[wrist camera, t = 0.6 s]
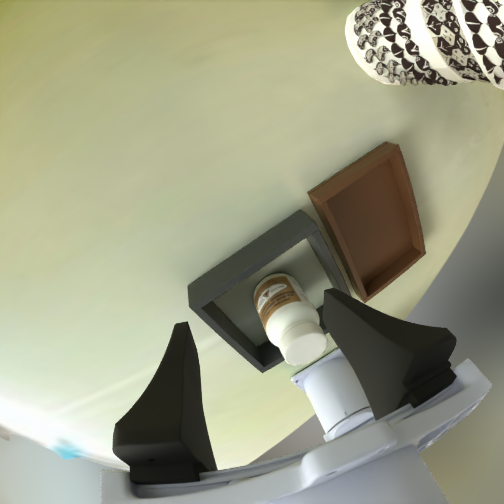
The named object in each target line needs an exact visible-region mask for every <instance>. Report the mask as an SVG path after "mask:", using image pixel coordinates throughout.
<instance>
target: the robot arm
mask: <svg viewBox="0 0 504 504" xmlns="http://www.w3.org/2000/svg"><path fill="white" fill-rule="evenodd" d="M323 321H324V323H325V325H326V328H327V329H328V331H329V333H330V335H331V337H332V338H333V340H334V341H335V343H336V344H337V346H338V347H339V348H338V349H336V350H335V351H333V352H331V353H330V354H328V355H327V356H325V357H324V358H322V359H321V360H319V361H318V362H316V363H314V364H313V365H311V366H309V367H308V368H306V369H305V370H303V371H301V372H300V373H298V374H296V375H294V376H293V377H292V378H291V380H292V382H293V383H294V384H295V385H297V386H298V387H299V388H300V389H301V390H302V391H303V392H304V393H306V394H307V395H308V398H309V400H310V402H311V404H312V406H313V408H314V410H315V412H316V414H317V416H318V419H319V421H320V422H321V425H322V427H323V429H324V431H325V433H326V434H325V435H324V436H323V437H324V439H325V441H326V442H324V443H323V444H320V445H317V446H314V447H311V448H308V449H306V450H302V451H299V452H296V453H292V454H289V455H286V456H282V457H279V458H275V459H271V460H267V461H263V462H260V463H255V464H250V465H245V466H240V467H235V468H230V469H224V470H217V466H216V463H215V459H214V455H213V451H212V448H211V444H210V439H209V435H208V431H207V426H206V421H205V416H204V411H203V404H202V392H201V377H200V365H199V359H198V353H197V348H196V345H195V342H194V339H193V336H192V333H191V330H190V327H189V324H188V321H187V322H182V323H176V324H175V325H174V329H173V332H172V335H171V338H170V341H169V344H168V347H167V349H166V352H165V354H164V357H163V359H162V361H161V363H160V365H159V367H158V369H157V371H156V373H155V375H154V377H153V378H152V380H151V382H150V384H149V385H148V387H147V388H146V390H145V391H144V393H143V394H142V395H141V397H140V398H139V399H138V400H137V402H136V403H135V404H134V405H133V407H132V408H131V409H130V410H129V411H128V412H127V413H126V414H125V415H124V416H123V417H122V418H121V419H120V420H119V421H118V422H117V423H116V424H115V429H114V434H113V453H114V454H115V455H116V456H117V457H118V458H119V459H121V460H122V461H123V462H125V463H126V464H127V465H129V466H130V472H127V471H120V470H101V504H450V503H449V502H448V500H447V498H446V497H445V495H444V493H443V492H442V490H441V488H440V487H439V485H438V484H437V482H436V480H435V479H434V477H433V475H432V474H431V473H430V471H429V469H428V467H427V466H426V464H425V463H424V461H423V459H422V458H421V456H420V455H419V453H420V452H422V451H423V450H424V449H426V448H427V447H429V446H430V445H431V444H433V443H434V442H435V441H437V440H438V439H439V438H440V437H442V436H443V435H444V434H446V433H447V432H448V431H449V430H451V429H452V428H453V427H454V426H455V425H457V424H458V423H459V422H460V421H461V420H463V419H464V417H466V416H467V415H468V414H469V413H471V412H472V411H473V410H474V409H475V407H476V406H477V405H478V404H479V403H480V401H481V400H482V399H483V398H484V397H485V395H486V394H487V393H488V391H489V390H490V389H491V387H492V384H491V383H490V382H489V380H488V379H487V378H486V377H485V376H484V375H483V374H482V373H481V371H480V370H479V369H478V368H477V367H476V366H475V365H474V364H473V363H472V362H471V361H470V360H469V359H466V360H465V361H464V362H462V363H461V364H459V365H458V366H457V367H456V368H455V369H454V370H453V371H452V370H451V369H450V366H451V363H450V362H449V361H448V359H449V358H450V356H451V354H452V352H453V350H454V348H455V345H456V337H455V336H454V335H453V334H452V333H451V332H450V331H449V330H448V329H447V328H441V327H430V326H425V325H419V324H415V323H411V322H407V321H404V320H400V319H397V318H394V317H392V316H389V315H387V314H384V313H382V312H380V311H378V310H375V309H373V308H371V307H369V306H367V305H365V304H363V303H362V302H360V301H358V300H356V299H354V298H353V297H351V296H349V295H347V294H346V293H344V292H342V291H340V290H338V289H336V288H331V289H327V290H324V306H323Z"/></svg>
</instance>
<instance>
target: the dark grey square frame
mask: <svg viewBox="0 0 504 504" xmlns="http://www.w3.org/2000/svg"><path fill="white" fill-rule="evenodd" d="M305 238H307V239H308V241H309V243H310V245H311V247H312V248H313V250H314V252H315V254H316V256H317V258H318V259H319V261H320V263H321V265H322V267H323V269H324V271H325V272H326V274H327V276H328V278H329V280H330V282H331V284H332V286H333V288H336V289H338V290H340V291H342V292H344V293H346V294H347V295H349V296H351V294H350V292H349V289H348V287H347V285H346V283H345V281H344V279H343V277H342V274H341V272H340V270H339V268H338V266H337V264H336V262H335V260H334V258H333V256H332V254H331V252H330V250H329V248H328V246H327V244H326V242H325V240H324V238H323V236H322V234H321V232H320V230H319V228H318V226H317V224H316V222H315V221H314V220H312V219H311V218H310V217H309V216H307V215H306V214H305V213H304V212H302V211H301V210H299V211H297V212H296V213H294V214H293V215H291V216H290V217H288V218H287V219H285V220H284V221H282V222H281V223H279V224H278V225H276V226H275V227H273V228H272V229H270V230H269V231H267V232H266V233H265V234H263V235H262V236H260V237H259V238H257V239H256V240H254V241H253V242H251V243H250V244H248V245H247V246H245V247H244V248H242V249H241V250H239V251H238V252H237V253H235V254H234V255H232V256H231V257H229V258H228V259H226V260H225V261H223V262H222V263H220V264H219V265H217V266H216V267H215V268H213V269H212V270H210V271H209V272H207V273H206V274H204V275H203V276H201V277H200V278H198V279H197V280H196V281H194V282H193V283H191V284H190V285H188V299H189V307H190V308H191V309H192V310H193V311H194V312H195V313H196V314H197V315H198V316H199V317H200V318H201V319H202V320H203V321H204V322H205V323H206V324H208V325H209V326H210V327H211V328H212V329H213V330H214V331H215V332H216V333H217V334H218V335H219V336H220V337H222V338H223V339H224V340H225V341H226V342H227V343H228V344H229V345H230V346H231V347H233V348H234V349H235V350H236V351H237V352H238V353H239V354H241V355H242V356H243V357H244V358H245V359H246V360H247V361H249V362H250V363H251V364H252V365H253V366H254V367H256V368H257V369H258V370H259V371H260V372H262V373H264V372H265V371H267V370H269V369H271V368H272V367H274V366H276V365H277V364H279V363H281V362H283V361H284V360H285V359H284V357H283V355H282V353H281V351H280V348H279V347H277V346H275V345H274V344H273V343H272V342H271V341H270V340H269V341H267V342H265V343H264V344H262V345H260V346H259V347H257V346H256V345H255V344H254V343H253V342H252V341H251V340H250V339H248V338H247V337H246V336H245V335H244V334H243V333H242V332H241V331H240V330H239V329H238V328H237V327H236V326H235V325H234V324H233V323H232V322H231V320H230V319H229V318H228V317H227V316H226V315H225V314H224V313H223V312H222V311H221V310H220V309H219V308H218V307H217V306H216V305H215V304H214V303H213V302H212V300H214V299H215V298H217V297H218V296H220V295H221V294H223V293H224V292H226V291H227V290H229V289H230V288H232V287H233V286H235V285H236V284H238V283H240V282H241V281H243V280H244V279H246V278H247V277H249V276H250V275H252V274H253V273H255V272H256V271H257V270H259V269H260V268H262V267H263V266H265V265H266V264H268V263H269V262H271V261H272V260H274V259H275V258H277V257H278V256H280V255H281V254H283V253H284V252H286V251H287V250H289V249H290V248H292V247H293V246H295V245H296V244H297V243H299V242H300V241H302V240H303V239H305ZM351 297H352V296H351ZM323 306H324V305H323ZM323 306H321V307H320V308H318V309H317V310H316V311H317V313H318V315H319V319H320V322H319V326H320V327H321V328H322V330H323V332H324V334H327V333H328V332H329V331H328V329H327V328H326V325H325V323H324V321H323Z"/></svg>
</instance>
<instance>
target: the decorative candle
mask: <svg viewBox="0 0 504 504" xmlns="http://www.w3.org/2000/svg"><path fill="white" fill-rule="evenodd" d="M345 34H346V39H347V43H348V47H349V49H350V51H351V53H352V55H353V56H354V58H355V60H356V62H357V64H358V65H359V66H360V67H361V68H362V69H363V70H364V71H365V72H366V73H367V74H368V75H369V76H370V77H372V78H374V79H376V80H377V81H379V82H381V83H383V84H389V85H400V84H401V85H402V86H405V85H406V82H407V81H410V83H411V84H413V85H415V86H417V85H418V81H422V83H423V84H429V85H434V84H435V83H437V84H442V85H445V86H447V85H449V84H452V85H456V84H457V83H458V82H462V83H472V82H474V81H481V82H489V83H490V82H491V83H492V84H493V85H494V86H495V87H497V88H499V89H501V90H504V0H372V1H371V2H369V3H364V4H362V5H361V7H357V8H355V9H354V10H353V11H352V12H351V14H350V15H349V16H348V17H347V21H346V26H345Z"/></svg>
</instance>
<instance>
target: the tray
mask: <svg viewBox="0 0 504 504" xmlns="http://www.w3.org/2000/svg"><path fill="white" fill-rule="evenodd" d="M308 195H309V197H310V199H311V201H312V203H313V205H314V207H315V209H316V211H317V213H318V215H319V217H320V218H321V220H322V222H323V224H324V226H325V228H326V230H327V233H328V235H329V237H330V239H331V241H332V243H333V245H334V247H335V249H336V251H337V253H338V255H339V257H340V260H341V262H342V264H343V266H344V268H345V270H346V273H347V275H348V277H349V279H350V282H351V284H352V286H353V288H354V291H355V293H356V295H358V297H359V298H360V299H361V300H362V301H363V302H364V303H366V302H367V301H368V300H370V299H371V298H372V297H374V296H375V295H376V294H378V293H379V292H380V291H382V290H383V289H384V288H385V287H387V286H388V285H389V284H390V283H392V282H393V281H394V280H395V279H397V278H398V277H399V276H400V275H402V274H403V273H404V272H405V271H406V270H408V269H409V268H410V267H411V266H412V265H413V264H415V263H416V262H417V261H418V260H419V259H420V258H422V257H423V256H424V255H425V254H426V251H425V245H424V239H423V234H422V229H421V224H420V219H419V214H418V210H417V206H416V201H415V197H414V193H413V190H412V186H411V182H410V179H409V175H408V172H407V168H406V165H405V162H404V159H403V155H402V152H401V150H400V147H399V145H398V144H393V143H388V142H385V143H383V144H382V145H380V146H379V147H377V148H375V149H374V150H372V151H371V152H369V153H368V154H366V155H364V156H363V157H361V158H360V159H358V160H357V161H355V162H354V163H352V164H351V165H349V166H347V167H346V168H344V169H343V170H341V171H340V172H338V173H337V174H335V175H334V176H332V177H331V178H329V179H327V180H326V181H324V182H323V183H321V184H320V185H318V186H317V187H315V188H314V189H312V190H311V191H309V192H308Z"/></svg>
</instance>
